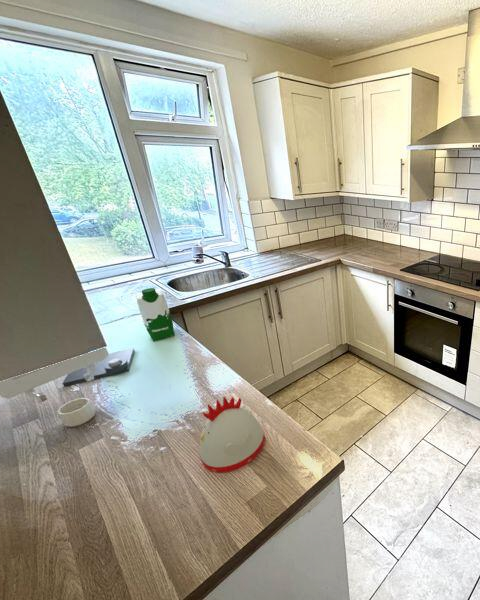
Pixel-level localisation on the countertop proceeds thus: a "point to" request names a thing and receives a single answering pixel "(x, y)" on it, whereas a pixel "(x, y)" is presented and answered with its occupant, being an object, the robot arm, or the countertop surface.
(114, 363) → the tare button
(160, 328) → the milk carton
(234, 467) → the kitchen timer
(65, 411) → the bowl
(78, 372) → the scale
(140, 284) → the countertop surface
